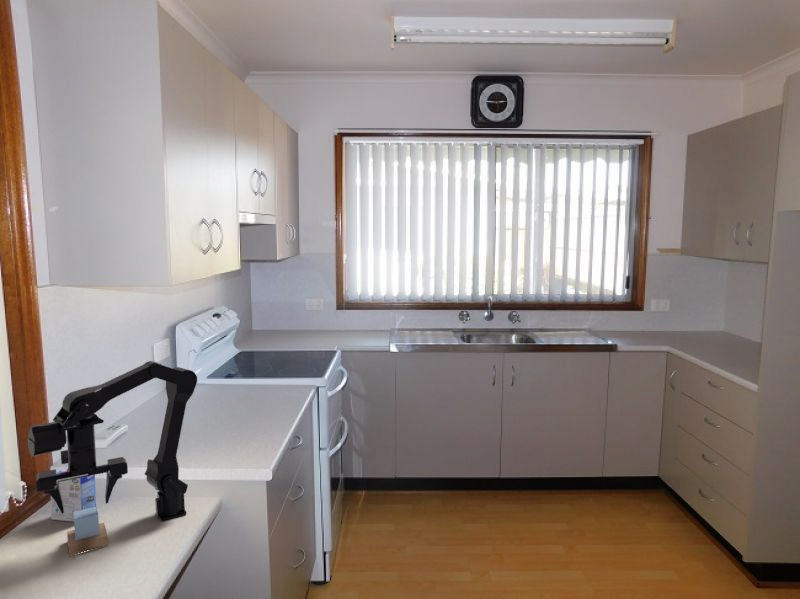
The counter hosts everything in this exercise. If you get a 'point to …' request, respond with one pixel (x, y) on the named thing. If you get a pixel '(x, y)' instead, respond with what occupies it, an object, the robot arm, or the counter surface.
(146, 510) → the counter surface
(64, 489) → the ink cartridge box
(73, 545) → the walnut block
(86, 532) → the slate cube
